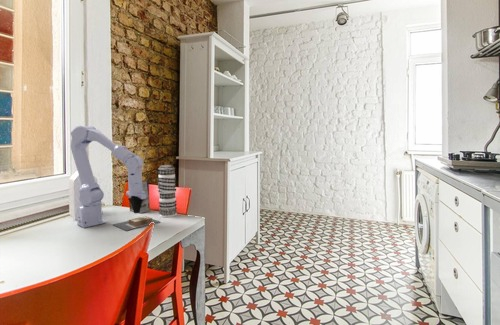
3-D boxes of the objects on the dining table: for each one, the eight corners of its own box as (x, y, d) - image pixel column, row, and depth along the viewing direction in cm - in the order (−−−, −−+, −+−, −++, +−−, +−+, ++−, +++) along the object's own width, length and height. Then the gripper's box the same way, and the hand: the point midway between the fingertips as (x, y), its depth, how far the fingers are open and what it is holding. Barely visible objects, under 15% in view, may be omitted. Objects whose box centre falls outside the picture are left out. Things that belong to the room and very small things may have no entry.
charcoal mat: (126, 231, 122) (126, 230, 122) (112, 225, 130) (112, 224, 130) (160, 222, 134) (160, 221, 134) (145, 217, 142) (145, 216, 142)
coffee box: (150, 210, 156) (149, 180, 154) (140, 213, 150) (138, 182, 149) (139, 208, 160) (138, 179, 159) (129, 211, 155) (127, 181, 154)
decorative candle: (155, 217, 143) (153, 166, 141) (163, 212, 152) (162, 164, 150) (172, 217, 141) (170, 166, 139) (180, 213, 150) (178, 164, 148)
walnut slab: (128, 224, 130) (135, 226, 126) (128, 219, 130) (135, 222, 126) (145, 220, 136) (152, 222, 132) (145, 215, 136) (152, 218, 132)
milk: (69, 215, 149) (65, 164, 147) (94, 211, 156) (91, 162, 154) (74, 219, 140) (71, 165, 138) (100, 215, 148) (97, 164, 145)
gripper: (152, 183, 129) (153, 213, 131) (136, 180, 139) (137, 208, 140) (136, 185, 124) (138, 216, 125) (121, 182, 134) (122, 211, 135)
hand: (136, 212), depth 132 cm, fingers closed
